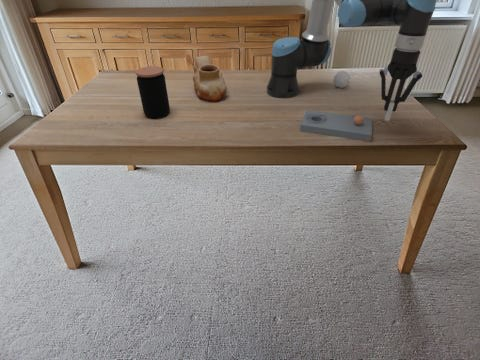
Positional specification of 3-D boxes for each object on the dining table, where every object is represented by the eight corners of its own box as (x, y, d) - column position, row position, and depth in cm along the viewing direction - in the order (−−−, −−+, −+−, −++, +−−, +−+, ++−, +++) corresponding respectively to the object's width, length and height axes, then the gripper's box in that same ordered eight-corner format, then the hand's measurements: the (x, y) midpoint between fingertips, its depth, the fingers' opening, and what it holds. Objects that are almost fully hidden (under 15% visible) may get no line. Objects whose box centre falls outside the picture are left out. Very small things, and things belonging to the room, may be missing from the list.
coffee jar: (175, 110, 131) (168, 67, 120) (162, 121, 123) (154, 76, 112) (153, 107, 134) (145, 65, 123) (139, 117, 126) (129, 73, 115)
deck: (299, 130, 115) (300, 124, 114) (306, 115, 126) (306, 109, 124) (369, 141, 108) (371, 135, 107) (370, 124, 119) (372, 118, 117)
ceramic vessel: (216, 81, 159) (214, 51, 150) (231, 100, 139) (230, 67, 130) (189, 85, 155) (186, 54, 146) (201, 105, 135) (198, 70, 126)
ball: (352, 125, 113) (354, 117, 111) (353, 121, 115) (354, 113, 113) (362, 127, 112) (364, 118, 110) (362, 123, 114) (364, 114, 112)
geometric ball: (335, 92, 152) (327, 79, 150) (344, 83, 155) (337, 69, 152) (346, 89, 145) (338, 75, 143) (356, 79, 148) (348, 65, 145)
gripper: (385, 50, 94) (367, 121, 108) (432, 53, 90) (407, 126, 104) (384, 44, 99) (367, 112, 113) (429, 47, 96) (406, 117, 110)
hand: (386, 119), depth 109 cm, fingers closed
